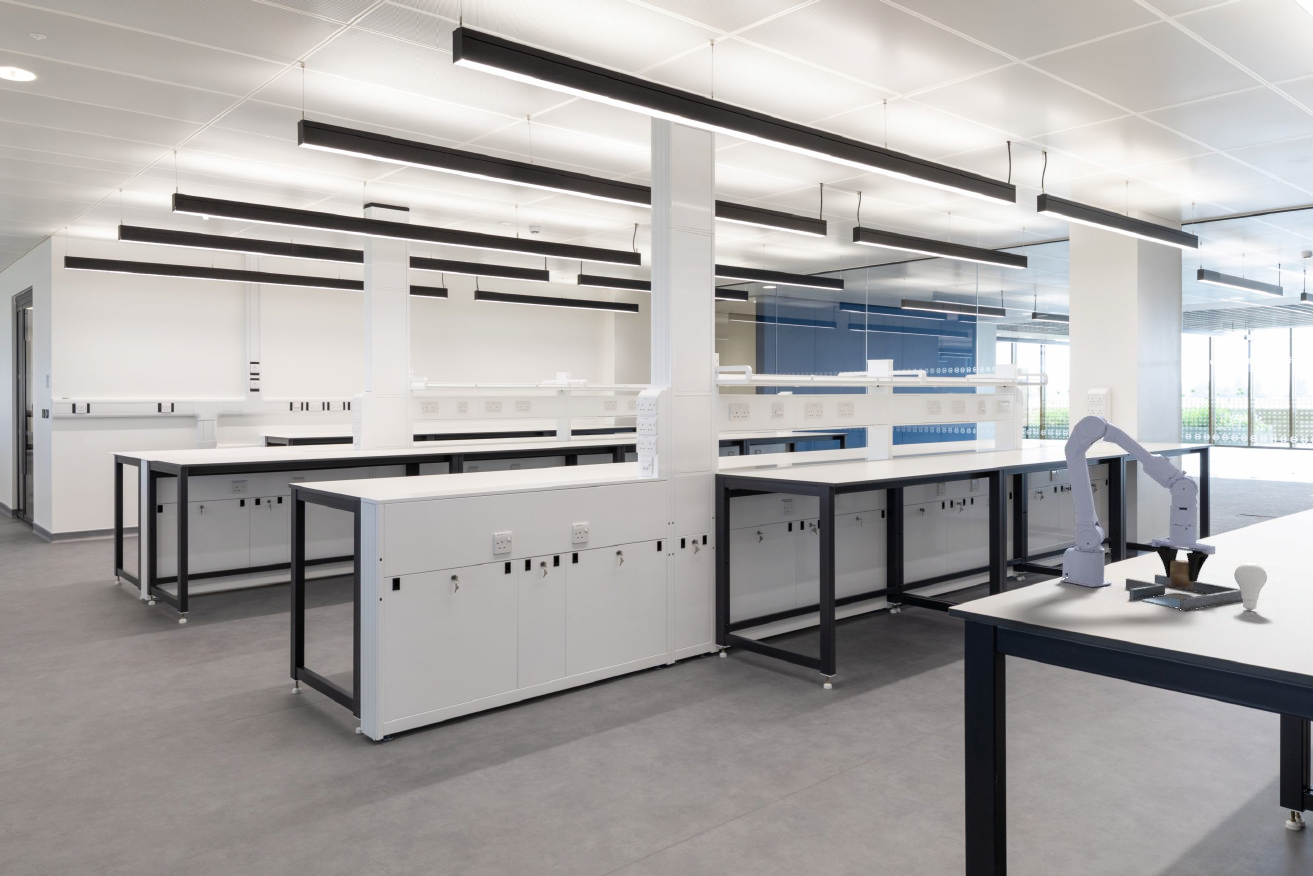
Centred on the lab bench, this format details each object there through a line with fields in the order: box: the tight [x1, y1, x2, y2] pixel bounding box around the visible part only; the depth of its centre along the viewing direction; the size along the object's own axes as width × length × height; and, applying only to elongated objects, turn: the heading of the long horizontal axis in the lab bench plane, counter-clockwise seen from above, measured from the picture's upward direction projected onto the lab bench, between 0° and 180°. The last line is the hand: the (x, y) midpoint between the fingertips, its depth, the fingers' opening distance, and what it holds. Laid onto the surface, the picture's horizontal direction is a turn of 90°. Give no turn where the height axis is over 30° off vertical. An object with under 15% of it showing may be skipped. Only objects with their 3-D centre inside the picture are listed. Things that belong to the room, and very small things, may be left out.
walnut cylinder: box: [1170, 559, 1194, 588], centre depth 211 cm, size 5×5×6 cm
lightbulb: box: [1234, 562, 1268, 612], centre depth 194 cm, size 6×6×11 cm
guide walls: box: [1125, 574, 1243, 611], centre depth 208 cm, size 22×24×2 cm
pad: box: [1141, 596, 1180, 608], centre depth 201 cm, size 8×8×1 cm
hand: (1181, 579), depth 211 cm, fingers closed on walnut cylinder, 5 cm apart
